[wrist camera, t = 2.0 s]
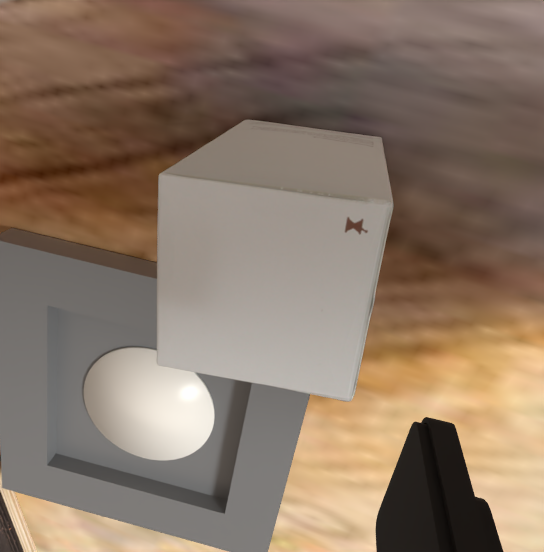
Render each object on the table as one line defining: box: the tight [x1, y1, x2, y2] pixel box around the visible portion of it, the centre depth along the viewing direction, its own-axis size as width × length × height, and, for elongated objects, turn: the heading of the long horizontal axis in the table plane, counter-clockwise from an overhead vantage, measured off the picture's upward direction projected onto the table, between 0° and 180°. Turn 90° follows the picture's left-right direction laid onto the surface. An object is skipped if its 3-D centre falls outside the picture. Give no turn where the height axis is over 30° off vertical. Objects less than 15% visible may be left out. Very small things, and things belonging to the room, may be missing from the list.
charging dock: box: [0, 228, 310, 552], centre depth 34 cm, size 20×20×2 cm
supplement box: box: [156, 119, 394, 401], centre depth 22 cm, size 7×7×13 cm
